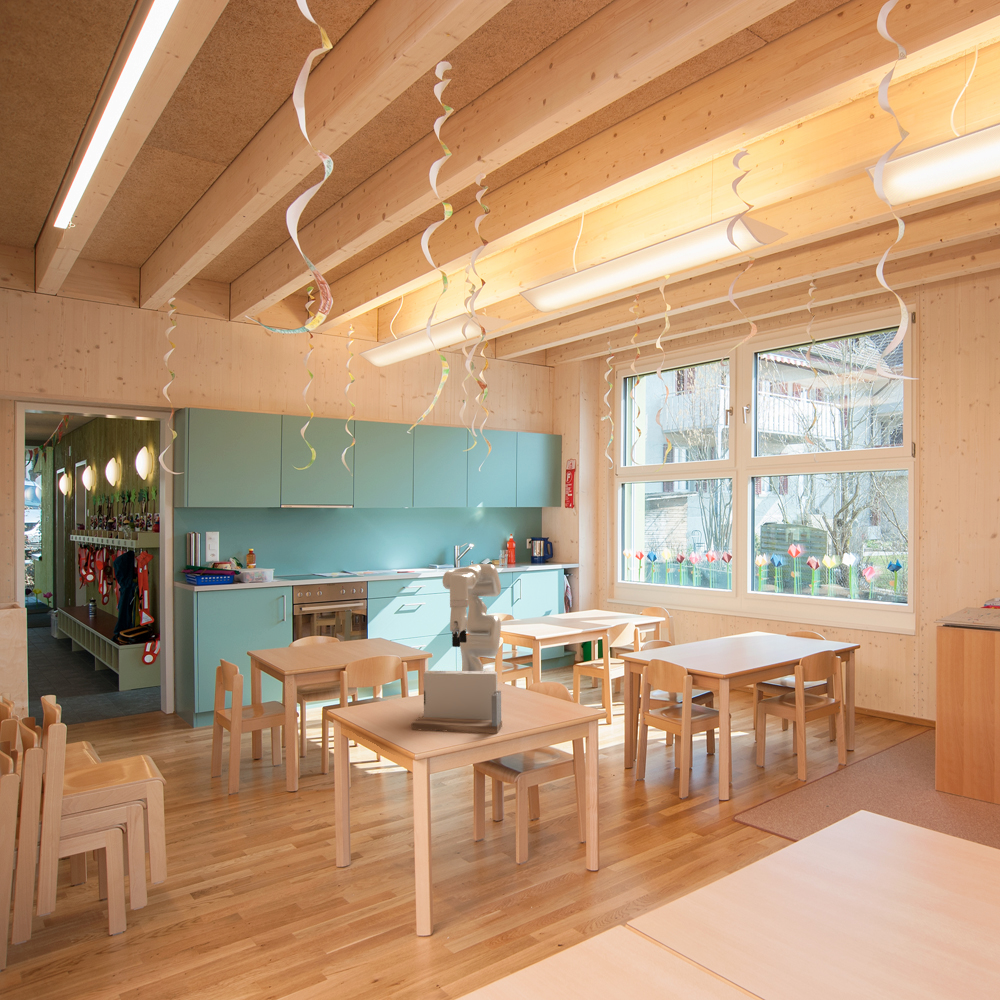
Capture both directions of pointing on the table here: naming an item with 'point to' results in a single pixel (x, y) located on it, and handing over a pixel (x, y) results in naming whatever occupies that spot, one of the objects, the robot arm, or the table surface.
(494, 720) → the bookend
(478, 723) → the shelf
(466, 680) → the packaging
